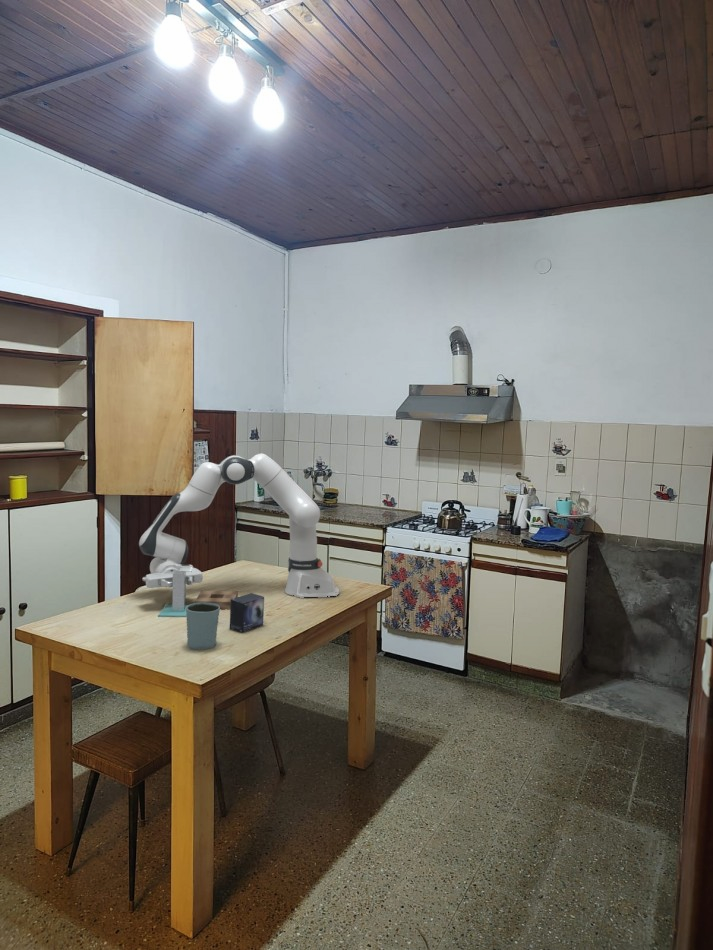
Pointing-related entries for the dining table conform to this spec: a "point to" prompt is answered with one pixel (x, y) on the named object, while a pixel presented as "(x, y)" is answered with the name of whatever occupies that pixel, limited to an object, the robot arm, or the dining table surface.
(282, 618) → the dining table surface
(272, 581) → the dining table surface
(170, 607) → the mat
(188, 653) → the dining table surface
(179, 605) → the metal bar
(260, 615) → the small box
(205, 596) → the socket block
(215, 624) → the grey-green cup
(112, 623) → the dining table surface
